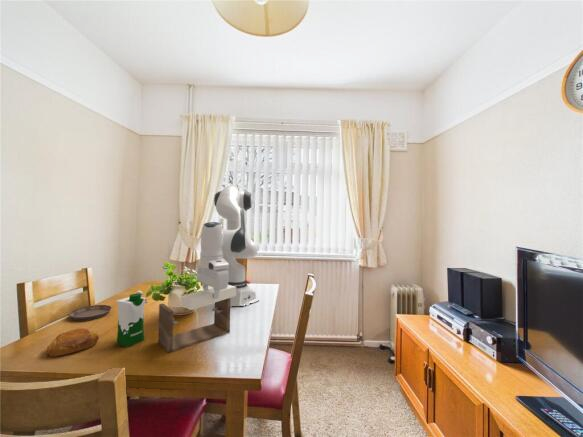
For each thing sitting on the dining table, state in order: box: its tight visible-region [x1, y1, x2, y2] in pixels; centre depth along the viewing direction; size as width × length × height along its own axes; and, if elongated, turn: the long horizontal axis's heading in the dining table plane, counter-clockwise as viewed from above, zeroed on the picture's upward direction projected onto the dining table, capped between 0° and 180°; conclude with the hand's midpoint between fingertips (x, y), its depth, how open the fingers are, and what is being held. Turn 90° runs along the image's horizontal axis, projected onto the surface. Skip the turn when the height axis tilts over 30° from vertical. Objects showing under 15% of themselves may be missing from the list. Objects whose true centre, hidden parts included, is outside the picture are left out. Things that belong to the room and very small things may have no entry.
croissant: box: [46, 327, 100, 357], centre depth 102 cm, size 14×16×8 cm
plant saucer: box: [68, 304, 112, 322], centre depth 134 cm, size 18×18×3 cm
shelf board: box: [180, 285, 236, 311], centre depth 103 cm, size 22×6×4 cm, turn 145°
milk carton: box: [116, 293, 147, 348], centre depth 107 cm, size 9×9×20 cm
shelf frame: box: [157, 298, 231, 354], centre depth 112 cm, size 27×12×16 cm, turn 135°
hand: (210, 296), depth 103 cm, fingers closed on shelf board, 6 cm apart
